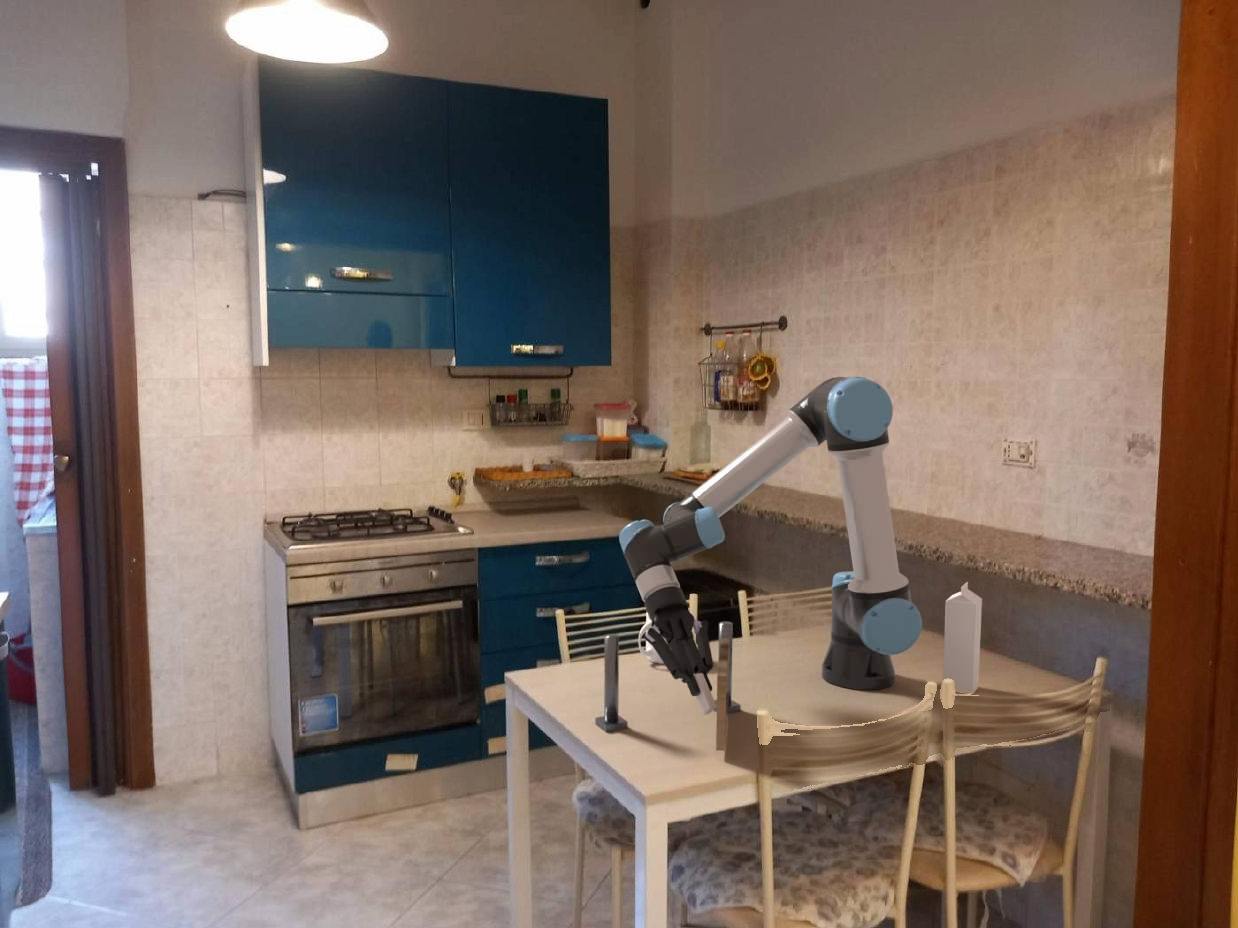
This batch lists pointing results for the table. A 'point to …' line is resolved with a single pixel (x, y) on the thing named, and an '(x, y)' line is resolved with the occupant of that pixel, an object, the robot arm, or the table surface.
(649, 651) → the mug
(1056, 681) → the table surface
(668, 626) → the robot arm
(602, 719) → the gate frame
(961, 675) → the milk
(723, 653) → the gate
